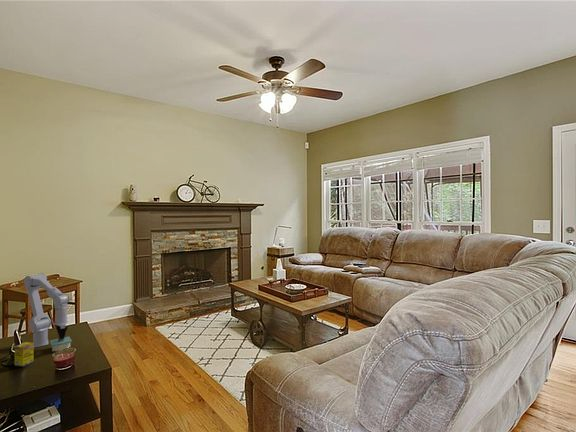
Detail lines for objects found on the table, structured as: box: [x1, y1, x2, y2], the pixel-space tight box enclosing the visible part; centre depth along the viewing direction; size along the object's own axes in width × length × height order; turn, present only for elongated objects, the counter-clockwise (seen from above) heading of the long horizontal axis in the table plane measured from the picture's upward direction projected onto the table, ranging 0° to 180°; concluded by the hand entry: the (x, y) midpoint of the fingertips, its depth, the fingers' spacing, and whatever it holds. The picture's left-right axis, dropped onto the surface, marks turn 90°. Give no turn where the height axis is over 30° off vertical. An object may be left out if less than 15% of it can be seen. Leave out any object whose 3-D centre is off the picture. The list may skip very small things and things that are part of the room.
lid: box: [49, 333, 73, 348], centre depth 194 cm, size 10×10×5 cm
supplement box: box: [13, 341, 35, 368], centre depth 174 cm, size 6×6×11 cm
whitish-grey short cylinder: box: [51, 343, 71, 352], centre depth 194 cm, size 9×9×4 cm
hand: (61, 337), depth 194 cm, fingers open, 6 cm apart
